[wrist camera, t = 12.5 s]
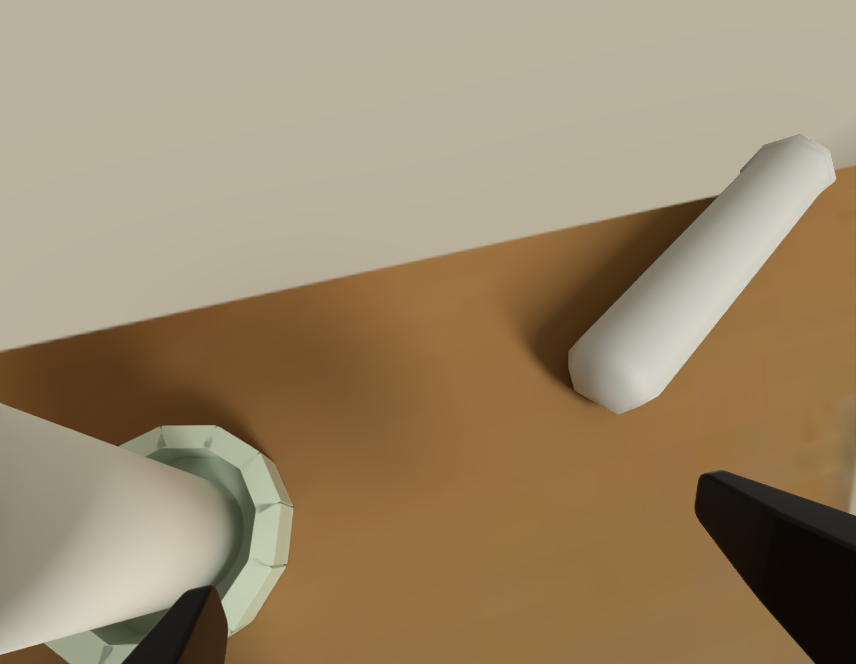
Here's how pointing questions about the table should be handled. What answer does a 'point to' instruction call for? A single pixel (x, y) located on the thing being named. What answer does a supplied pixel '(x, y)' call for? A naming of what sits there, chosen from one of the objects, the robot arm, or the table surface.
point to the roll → (99, 532)
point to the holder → (261, 547)
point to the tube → (697, 277)
